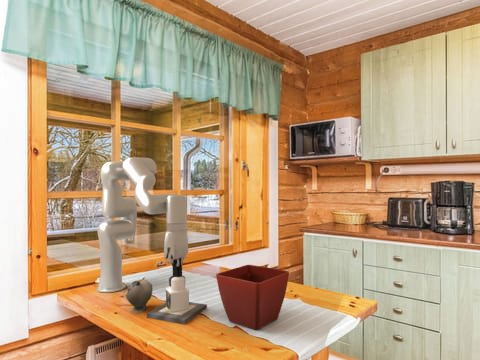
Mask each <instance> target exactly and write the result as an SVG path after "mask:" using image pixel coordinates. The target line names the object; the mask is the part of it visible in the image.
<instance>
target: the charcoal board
mask: <svg viewBox="0 0 480 360" xmlns="http://www.w3.org/2000/svg"><path fill="white" fill-rule="evenodd" d="M206 308H208V304H204V303H199V302H192V301H189V309H188V310H183V311H177V312H170V311H169V310H168V308H167V307H166V302H165V303H163V304H161V305H159V306H158V307H156V308H154V309H152V310H150V311H149V312H147V313H146V318H147V319H153V320H159V321H165V322H170V323H176V324H181V325H186V324H187V323H188V322H189V321H191V320H193V319H194V318H196V316H198V315H200V314H201V313H202V312H203V310H204V311H205V310H207V309H206Z"/></svg>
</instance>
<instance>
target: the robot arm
mask: <svg viewBox="0 0 480 360" xmlns="http://www.w3.org/2000/svg"><path fill="white" fill-rule="evenodd" d="M157 167H158V166H157V163H156V162H155V160H154V159H152V158H150V157H137V156H136V157H135V156H133V157H128V158H126V159H125V160H124V161H108V162H105V163H104V164H103V165H102V167H101V169H100V180H101V184H102V200H101V201H102V202H101V204H102V205H101V206H102V207H101V212H102V215H103V217H104V218H107V219H114V220H106V221H103V222H101V223H99V225H98V227H97V236H98V241H99V242H98V243H99V256H100V257H99V258H100V262H99V264H100V265H99V266H100V268H99V269H100V271H99V272H100V273H99V275H100V276H99V277H98V278H97V279H96V280H95V281H94V282H95V284H98V286H97V287H96V291H97V292H99V293H113V292H118V291H121V290H124V289H125V288H126V287H127V286H126V283H125V282H123V251H122V250H123V249H122V247H121V246H120V244H119V242H118V241H121V240H129V239H133V237H134V236H135V235H136V232H137V219H138V217H137V215H138V206H139V207H140V208H141V210H142V211H144V213H146V214H148V215H159V214H161V215H162V214H166V215H165V216H166V220H165V221H166V232H165V235H164V242H163V243H164V244H163V258H164V259H165V260H167V263H168V264H171V267H172V276H173V277H180V276H183V264H184V260H186V258H187V255H188V253H189V241H188V240H189V239H188V237H189V236H188V224H187V223H188V219H187V217H188V214H187V213H188V212H187V211H188V210H187V197H186V196H185V195H184V194H174V193H163V194H162V193H160V194H159V193H158V194H157V193H156V194H151V193H150V192H149V191H150V190H151V189H152V188H153V187H154V186H155V184H156V183H157V182H156V181H157V180H156V175H155V174H156V173H157V171H158V170H157V169H158V168H157ZM119 181H131V182H132V183H133V185H134V186H135V190H134V198H135V199H134V198H132V197H131V196H130V197H129V196H123V187H122V185H121V183H120V182H119ZM137 205H138V206H137ZM117 218H122V219H117ZM115 219H116V220H115Z"/></svg>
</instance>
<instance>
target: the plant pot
mask: <svg viewBox="0 0 480 360" xmlns="http://www.w3.org/2000/svg"><path fill="white" fill-rule="evenodd" d="M289 274H290V271H288V270H284V269H283V270H282V269H279V268H278V269H277V268H272V267H266V266H260V265H254V264H246V265H242V266H239V267H235V268H232V269H229V270H226V271H222V272H218V273H216V275H215V276H216V282H217V288H218V291H219V295H220V299H221V303H222V306H223V309H224V311H225V314H226V317H227V319H228V321H229V322H230V323H234V324H237V325H239V326H243V327H244V328H245V327H246V328H249V329H252V330H260V329H262V328H264V327H266V326H267V325H269V324H271V323H273V322H274V321H276V320H278V318H279V316H280V313H281V310H282V306H283V304H284V300H285V296H286V291H287V287H288V281H289V276H290V275H289Z"/></svg>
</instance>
